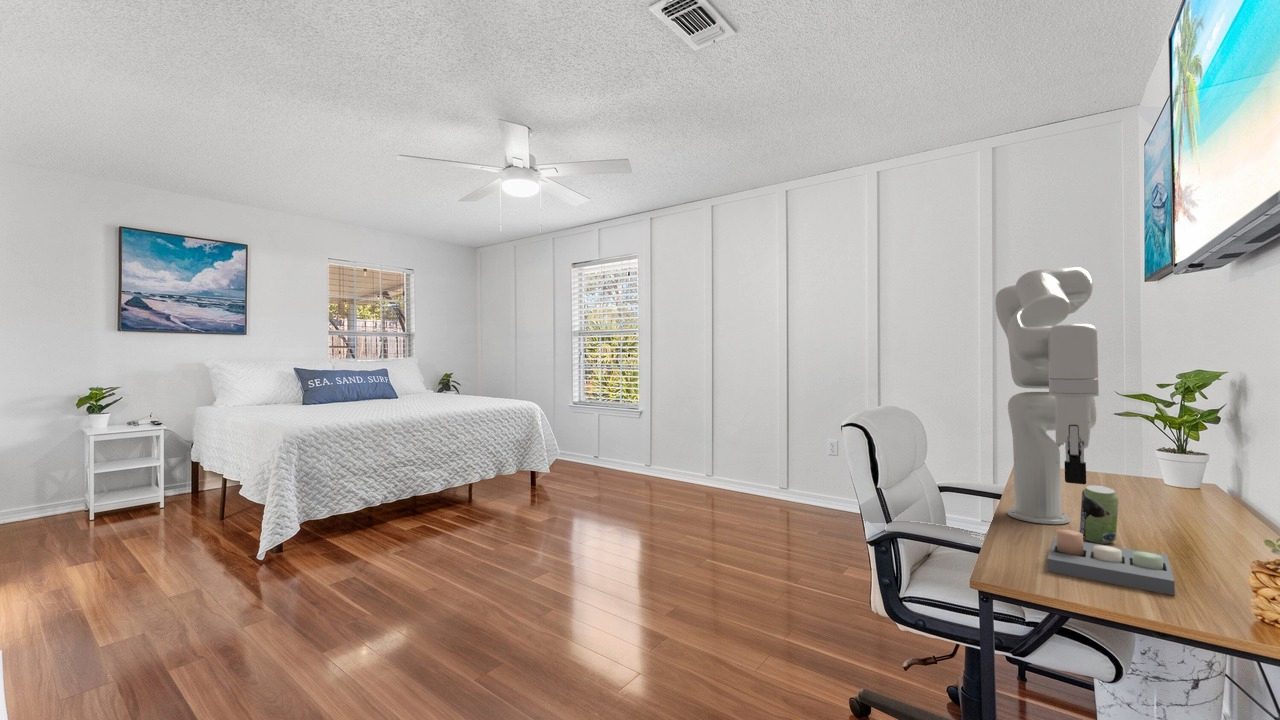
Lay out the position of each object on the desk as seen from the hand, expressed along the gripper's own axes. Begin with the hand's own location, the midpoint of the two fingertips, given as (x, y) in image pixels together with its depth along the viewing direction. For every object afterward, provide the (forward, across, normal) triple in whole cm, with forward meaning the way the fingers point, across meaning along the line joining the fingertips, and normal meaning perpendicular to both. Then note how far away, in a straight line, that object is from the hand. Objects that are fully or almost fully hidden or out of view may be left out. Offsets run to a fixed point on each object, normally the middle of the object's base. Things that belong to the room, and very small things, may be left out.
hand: (1075, 482), depth 105 cm
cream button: (+16, 0, +4) cm, 16 cm away
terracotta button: (+14, 0, -1) cm, 14 cm away
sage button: (+16, 0, +10) cm, 18 cm away
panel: (+16, 0, +4) cm, 16 cm away
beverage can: (+16, -20, +3) cm, 26 cm away
